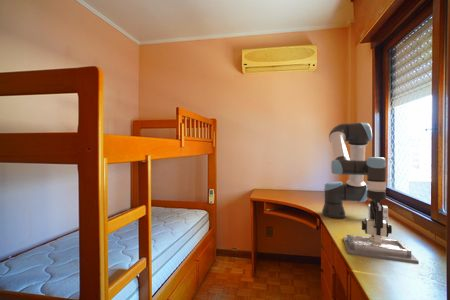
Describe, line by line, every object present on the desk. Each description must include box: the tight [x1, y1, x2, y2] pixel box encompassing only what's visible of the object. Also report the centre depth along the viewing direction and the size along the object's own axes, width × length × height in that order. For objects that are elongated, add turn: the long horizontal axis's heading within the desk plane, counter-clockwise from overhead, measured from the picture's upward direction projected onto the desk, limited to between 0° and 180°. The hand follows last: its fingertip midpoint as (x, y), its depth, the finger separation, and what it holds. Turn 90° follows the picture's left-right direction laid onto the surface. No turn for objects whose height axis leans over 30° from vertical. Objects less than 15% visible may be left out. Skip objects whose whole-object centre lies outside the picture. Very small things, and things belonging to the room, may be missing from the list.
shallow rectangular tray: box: [346, 234, 412, 257], centre depth 111 cm, size 12×23×2 cm, turn 70°
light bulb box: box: [368, 203, 389, 223], centre depth 153 cm, size 11×7×11 cm, turn 59°
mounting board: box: [342, 236, 420, 264], centre depth 111 cm, size 19×26×1 cm
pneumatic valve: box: [361, 217, 393, 245], centre depth 111 cm, size 6×12×12 cm, turn 61°
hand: (376, 239), depth 111 cm, fingers closed on pneumatic valve, 5 cm apart
